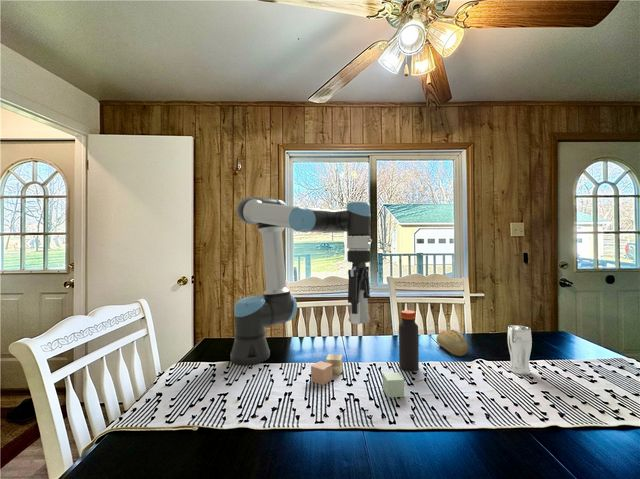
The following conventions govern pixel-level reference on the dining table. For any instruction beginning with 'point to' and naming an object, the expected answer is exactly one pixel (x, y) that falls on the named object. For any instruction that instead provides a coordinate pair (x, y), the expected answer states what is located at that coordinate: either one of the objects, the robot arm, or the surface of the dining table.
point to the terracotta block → (321, 372)
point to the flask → (362, 310)
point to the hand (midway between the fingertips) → (359, 320)
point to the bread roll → (452, 342)
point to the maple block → (335, 363)
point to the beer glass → (519, 348)
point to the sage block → (393, 384)
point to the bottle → (408, 342)
